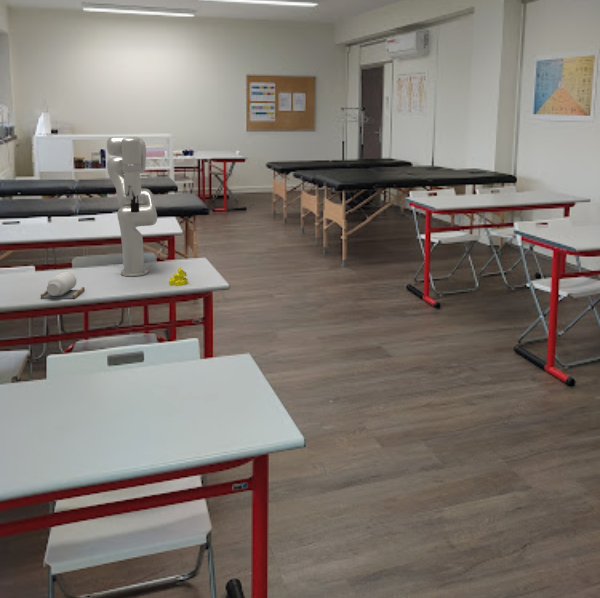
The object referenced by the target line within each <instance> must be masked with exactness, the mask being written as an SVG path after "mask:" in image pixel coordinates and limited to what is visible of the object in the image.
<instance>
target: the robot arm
mask: <svg viewBox="0 0 600 598" xmlns="http://www.w3.org/2000/svg"><path fill="white" fill-rule="evenodd" d="M146 146H147V145H146V142H145V141H144V140H143V139H142V138H141V137H137V136H111V137H108V138H107V141H106V149H107V153H108V154H109V156H112V157H110V158H109V159H108V160H107V162H106V169H107V172H108V176H109V179H110V180H111V183H112V184H113V185H114V187H115V190H116V191H115V193H116V197H117V202H118V205H119V209H118V210H117V215H116V216H117V220H118V225H119V229H120V237H121V239H120V240H121V250H122V251H121V252H122V253H121V254H122V264H123V270H120V275H121V276H124V277H140V276H144V275H147V274H149V269H147V268H146V267H145V256H144V254H145V253H144V240H143V235H142V232H141V231H139V230H138V229H137V227H148V226H151V227H152V226H154V225H156V223H157V222H158V221H157V220H158V213H157V209H156V205H155V201H154V197H153V196H154V195H153V193H152V191H151V190H150V189H148V188H142V180H141V174H143V173H144V172H145V170H146V166H147V165H146V163H147V161H146V159H147V147H146Z"/></svg>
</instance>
